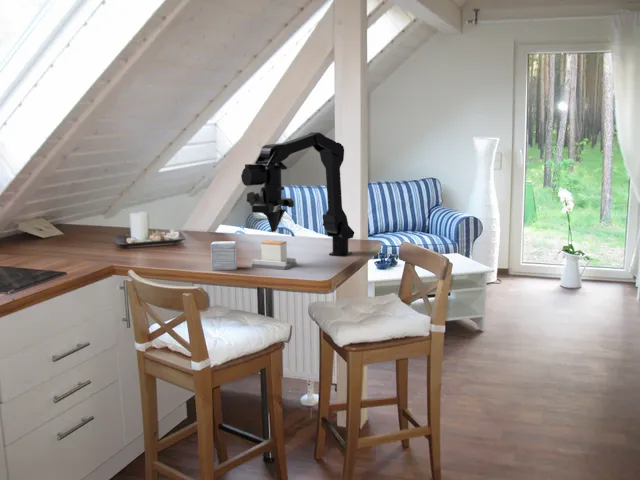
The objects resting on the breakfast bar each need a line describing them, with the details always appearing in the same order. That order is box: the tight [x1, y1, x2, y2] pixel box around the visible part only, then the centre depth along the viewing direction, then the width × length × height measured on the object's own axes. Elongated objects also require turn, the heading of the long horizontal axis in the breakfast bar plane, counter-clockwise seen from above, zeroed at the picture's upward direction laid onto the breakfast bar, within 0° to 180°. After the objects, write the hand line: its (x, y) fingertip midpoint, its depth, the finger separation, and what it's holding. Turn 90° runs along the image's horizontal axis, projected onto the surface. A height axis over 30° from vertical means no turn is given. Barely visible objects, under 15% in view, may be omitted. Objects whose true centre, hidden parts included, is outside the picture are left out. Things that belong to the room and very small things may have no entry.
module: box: [260, 239, 288, 262], centre depth 224 cm, size 4×7×7 cm, turn 66°
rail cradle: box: [251, 257, 298, 271], centre depth 224 cm, size 9×12×2 cm
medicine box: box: [210, 240, 238, 271], centre depth 220 cm, size 8×4×9 cm, turn 92°
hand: (273, 231), depth 223 cm, fingers closed
